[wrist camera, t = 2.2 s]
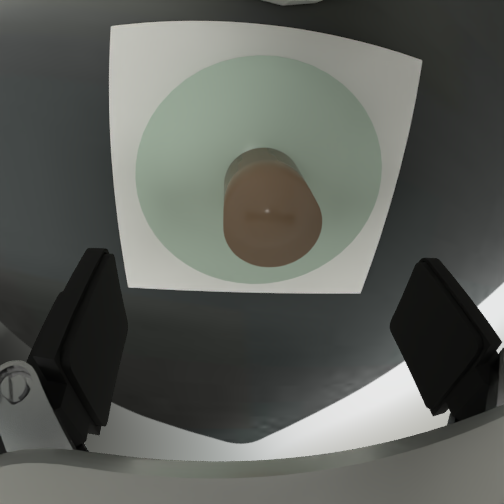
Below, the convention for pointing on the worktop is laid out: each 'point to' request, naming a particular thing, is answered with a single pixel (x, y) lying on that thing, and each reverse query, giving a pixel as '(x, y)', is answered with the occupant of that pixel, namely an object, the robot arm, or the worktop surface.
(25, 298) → the worktop surface
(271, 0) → the white cup
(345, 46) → the mat
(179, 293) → the worktop surface
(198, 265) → the lid
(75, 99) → the worktop surface
